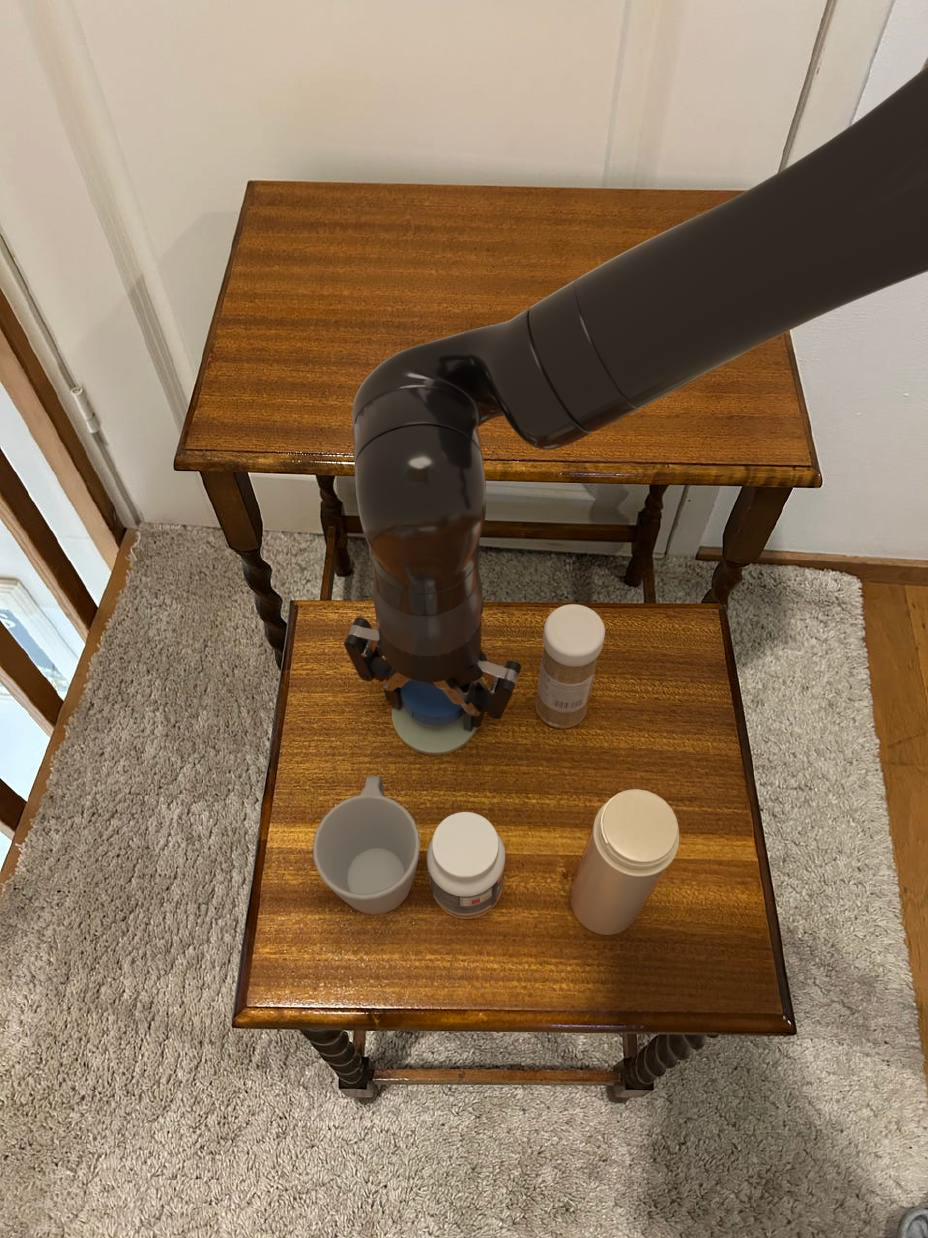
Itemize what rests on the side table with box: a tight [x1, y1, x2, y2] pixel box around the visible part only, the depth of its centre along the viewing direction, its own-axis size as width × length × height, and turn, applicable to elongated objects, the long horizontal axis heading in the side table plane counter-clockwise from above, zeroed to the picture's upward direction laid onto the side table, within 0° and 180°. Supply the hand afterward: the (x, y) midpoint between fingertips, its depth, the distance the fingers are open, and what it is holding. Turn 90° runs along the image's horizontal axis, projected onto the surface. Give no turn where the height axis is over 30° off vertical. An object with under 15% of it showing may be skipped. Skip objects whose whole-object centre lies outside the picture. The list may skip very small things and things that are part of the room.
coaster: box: [391, 705, 478, 756], centre depth 80 cm, size 8×8×1 cm
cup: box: [312, 775, 421, 916], centre depth 70 cm, size 8×10×8 cm
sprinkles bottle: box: [534, 603, 606, 730], centre depth 75 cm, size 5×5×13 cm
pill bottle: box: [426, 811, 506, 920], centre depth 69 cm, size 6×6×10 cm
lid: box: [400, 680, 464, 727], centre depth 78 cm, size 6×6×2 cm
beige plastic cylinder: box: [569, 788, 680, 936], centre depth 65 cm, size 5×5×18 cm
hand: (435, 710), depth 80 cm, fingers closed on lid, 6 cm apart
